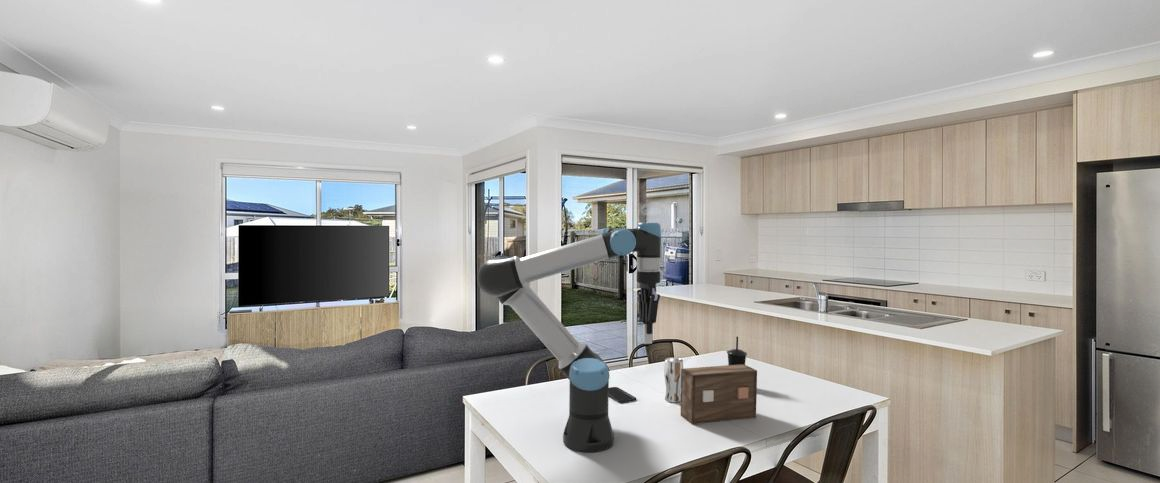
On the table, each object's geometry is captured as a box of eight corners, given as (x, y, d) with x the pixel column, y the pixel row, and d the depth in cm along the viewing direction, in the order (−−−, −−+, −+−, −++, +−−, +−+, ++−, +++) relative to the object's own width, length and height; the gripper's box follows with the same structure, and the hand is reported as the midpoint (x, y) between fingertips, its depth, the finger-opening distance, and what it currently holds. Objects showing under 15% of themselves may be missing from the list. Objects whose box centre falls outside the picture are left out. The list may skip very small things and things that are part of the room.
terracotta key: (748, 398, 170) (748, 387, 170) (738, 398, 169) (738, 388, 169) (738, 392, 176) (738, 382, 176) (729, 393, 175) (729, 382, 175)
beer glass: (686, 399, 189) (687, 359, 188) (676, 404, 184) (676, 363, 183) (670, 395, 193) (671, 356, 193) (660, 400, 188) (660, 359, 188)
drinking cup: (748, 385, 207) (749, 336, 206) (743, 390, 200) (744, 339, 199) (729, 381, 211) (730, 333, 210) (723, 386, 204) (724, 337, 204)
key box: (756, 417, 172) (757, 370, 172) (691, 424, 166) (692, 375, 165) (742, 409, 180) (743, 364, 179) (680, 415, 174) (681, 368, 173)
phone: (616, 386, 201) (637, 398, 188) (616, 389, 201) (637, 401, 188) (598, 389, 197) (619, 401, 184) (598, 392, 197) (619, 404, 184)
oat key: (713, 401, 167) (713, 390, 167) (703, 402, 166) (703, 391, 166) (704, 395, 172) (704, 384, 172) (694, 396, 171) (695, 385, 171)
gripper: (668, 272, 159) (666, 347, 160) (651, 268, 171) (650, 338, 172) (645, 272, 157) (644, 348, 158) (630, 268, 169) (629, 339, 170)
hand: (647, 343), depth 165 cm, fingers closed
